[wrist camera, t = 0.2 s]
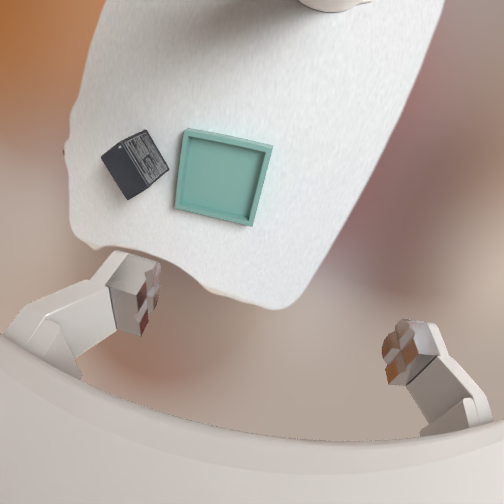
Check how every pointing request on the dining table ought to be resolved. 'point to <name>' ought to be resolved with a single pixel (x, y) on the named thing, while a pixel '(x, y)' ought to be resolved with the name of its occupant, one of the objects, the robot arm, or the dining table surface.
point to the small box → (135, 164)
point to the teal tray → (221, 175)
